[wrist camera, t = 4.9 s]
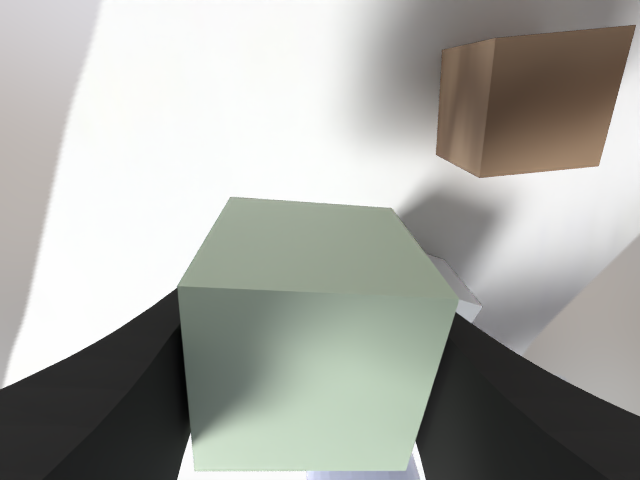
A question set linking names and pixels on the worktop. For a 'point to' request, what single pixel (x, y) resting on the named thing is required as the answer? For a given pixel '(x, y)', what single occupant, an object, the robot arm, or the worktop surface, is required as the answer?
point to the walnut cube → (530, 100)
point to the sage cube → (310, 338)
